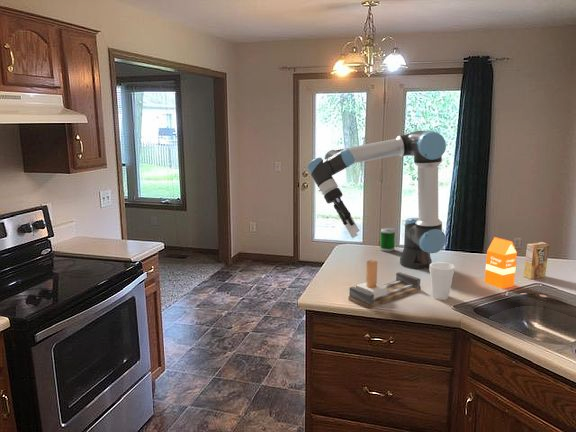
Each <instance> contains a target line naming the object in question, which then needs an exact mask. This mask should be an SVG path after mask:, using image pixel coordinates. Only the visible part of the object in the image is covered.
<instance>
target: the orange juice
mask: <svg viewBox="0 0 576 432" xmlns="http://www.w3.org/2000/svg"><path fill="white" fill-rule="evenodd" d="M517 255H518V252H517V249H516V248H515V245H514V243H513V241H512V240H508V239H505V238H501V237H496V236H493V239H492V241H491V243H490V245H489V246H488V249H487V251H486V259H485V260H486V261H485V262H486V263H485V275H484V283H485V284H487V285H490V286H492V287H496V288H499V289H502V290H503V289H507V288H510V287H514V286H515V276H516V268H517V267H516V266H517V264H516V263H517Z"/></svg>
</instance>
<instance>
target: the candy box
mask: <svg viewBox="0 0 576 432" xmlns="http://www.w3.org/2000/svg"><path fill="white" fill-rule="evenodd" d="M549 248H550V244H549V243H547V242H543V241H540V242H533V243H526V252H525V260H524V261H525V262H524V268H523V269H524V270H523V277H524V278H527V279H529V280H533V279H539V278H545V277H546V273H547V271H546V270H547V264H548V257H549Z"/></svg>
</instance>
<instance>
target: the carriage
mask: <svg viewBox="0 0 576 432" xmlns="http://www.w3.org/2000/svg"><path fill="white" fill-rule="evenodd" d="M377 280H378V261H377V260H373V259H370V260H366V280H365V282H362V283H359V284H356V285H355V287H356V288H358V289H361V290H364V291H366V292H369V293H371V294H374V299H375V298H377V297H380V296H383V295H386V294H387V287H385V286H383V285H384V284H380V283H377V282H378V281H377Z"/></svg>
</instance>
